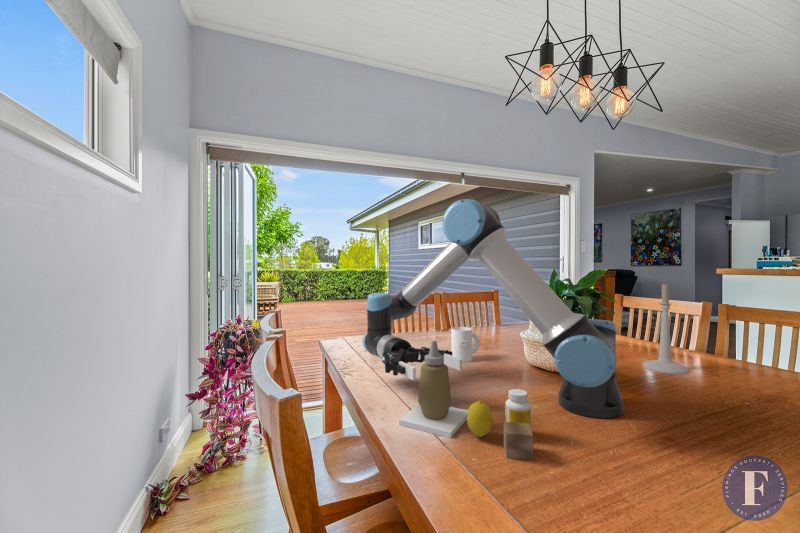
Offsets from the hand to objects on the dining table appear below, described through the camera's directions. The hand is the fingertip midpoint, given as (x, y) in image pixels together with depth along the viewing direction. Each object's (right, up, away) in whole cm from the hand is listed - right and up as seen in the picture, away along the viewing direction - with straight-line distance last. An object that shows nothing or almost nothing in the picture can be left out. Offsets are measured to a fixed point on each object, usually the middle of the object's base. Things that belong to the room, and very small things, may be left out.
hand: (438, 369), depth 87 cm
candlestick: (+83, -11, +41) cm, 94 cm away
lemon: (+8, -13, -7) cm, 17 cm away
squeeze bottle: (-1, -12, +2) cm, 12 cm away
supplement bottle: (+17, -13, -6) cm, 22 cm away
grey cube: (+15, -13, -13) cm, 24 cm away
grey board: (-1, -13, +2) cm, 13 cm away
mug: (+17, -12, +55) cm, 59 cm away
